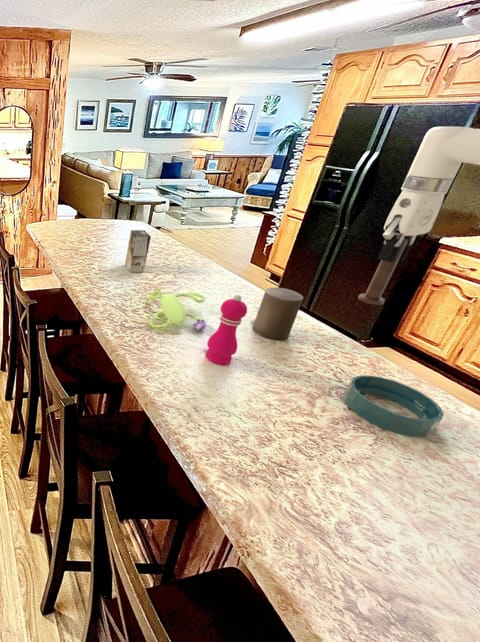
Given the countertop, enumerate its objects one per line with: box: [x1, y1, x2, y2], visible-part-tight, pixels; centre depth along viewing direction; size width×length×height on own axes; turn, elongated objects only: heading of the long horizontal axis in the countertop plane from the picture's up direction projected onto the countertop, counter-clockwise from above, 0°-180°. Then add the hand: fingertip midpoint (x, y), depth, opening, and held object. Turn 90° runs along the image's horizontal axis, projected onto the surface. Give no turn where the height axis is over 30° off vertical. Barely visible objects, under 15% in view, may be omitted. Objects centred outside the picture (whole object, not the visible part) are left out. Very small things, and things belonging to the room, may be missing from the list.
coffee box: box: [124, 229, 152, 273], centre depth 167 cm, size 9×6×16 cm
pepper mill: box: [205, 294, 248, 366], centre depth 104 cm, size 7×7×20 cm
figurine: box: [146, 289, 207, 331], centre depth 130 cm, size 18×27×6 cm
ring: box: [341, 374, 445, 438], centre depth 88 cm, size 15×15×6 cm
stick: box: [358, 236, 408, 306], centre depth 98 cm, size 5×5×17 cm
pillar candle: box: [252, 286, 304, 341], centre depth 119 cm, size 10×10×15 cm
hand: (390, 259), depth 97 cm, fingers closed on stick, 3 cm apart
